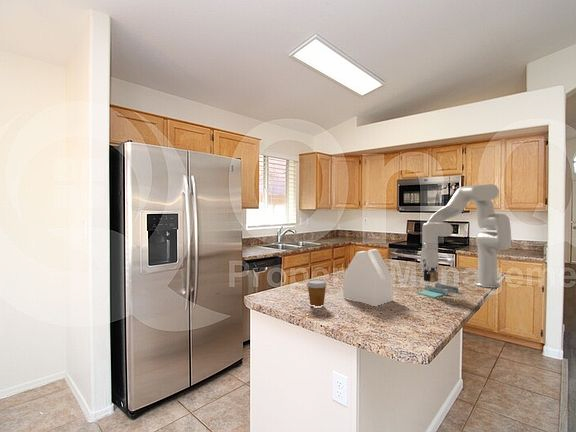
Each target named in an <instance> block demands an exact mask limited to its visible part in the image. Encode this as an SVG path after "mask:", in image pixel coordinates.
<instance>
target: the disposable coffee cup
mask: <svg viewBox="0 0 576 432" xmlns="http://www.w3.org/2000/svg"><path fill="white" fill-rule="evenodd" d="M306 286H307V290H308V297H309V305H310V304H311V305H315V306H321V305H325V297H326V287H327V282H326V280H324V279H319V278H318V279H317V278H315V279H308V281H307V283H306Z"/></svg>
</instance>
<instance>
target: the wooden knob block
mask: <svg viewBox="0 0 576 432" xmlns="http://www.w3.org/2000/svg"><path fill="white" fill-rule="evenodd" d="M436 271H437V270H436ZM436 271H434V270H430V271H429V274H430V281H428V282H430V283H437V282H439V271H437V272H436Z"/></svg>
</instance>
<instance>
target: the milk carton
mask: <svg viewBox="0 0 576 432" xmlns="http://www.w3.org/2000/svg"><path fill="white" fill-rule="evenodd" d="M343 297H346V298H349V299H352V300H356V301H359V302H362V303H366V304H369V305H373V306H377V305H380V306H381V304H382V305H385V304H388V303H390V302H392V301H394V278H393V275H392V274H391V272H390V269H389V268H388V266H387V264H386V263H385V261H384V259H383V256H382V255H381V253H380V251H379V249H378V248H377V249H376V248H374V249H368V250H362V251H361V250H360V251H357V252H355V255H354V256H353V258H352V259H351V262H350V263H349V264H348V266H347V269H346V271H345V272H344V274H343V276H342V298H343ZM387 302H388V303H387ZM362 303H361V304H362ZM384 303H385V304H384ZM366 304H365V305H366ZM369 305H368V306H369ZM373 306H372V307H373ZM377 307H378V306H377Z"/></svg>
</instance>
